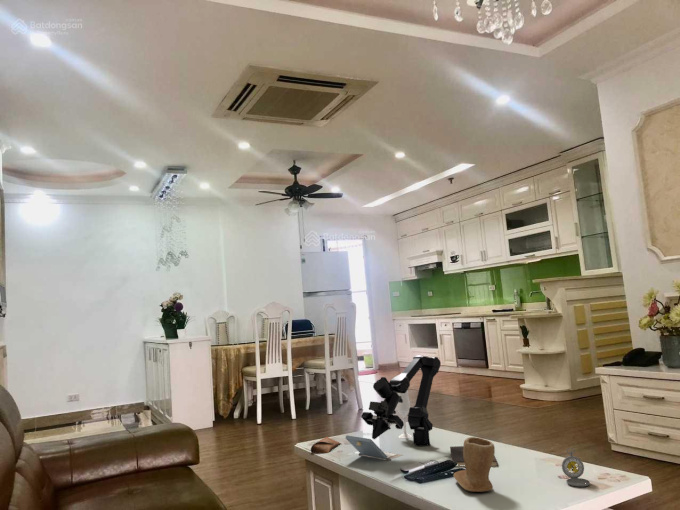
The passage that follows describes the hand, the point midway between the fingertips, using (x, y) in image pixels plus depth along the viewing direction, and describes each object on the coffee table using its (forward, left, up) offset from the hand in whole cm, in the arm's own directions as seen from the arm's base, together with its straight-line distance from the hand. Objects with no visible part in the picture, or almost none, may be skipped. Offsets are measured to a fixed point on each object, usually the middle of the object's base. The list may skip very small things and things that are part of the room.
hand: (373, 438), depth 203 cm
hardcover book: (-38, +1, -9) cm, 39 cm away
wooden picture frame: (-3, -3, -8) cm, 9 cm away
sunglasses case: (+22, -23, -9) cm, 33 cm away
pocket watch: (-65, +35, -8) cm, 74 cm away
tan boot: (-34, +36, -8) cm, 50 cm away
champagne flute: (-13, -40, -8) cm, 43 cm away
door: (0, 0, -7) cm, 7 cm away
